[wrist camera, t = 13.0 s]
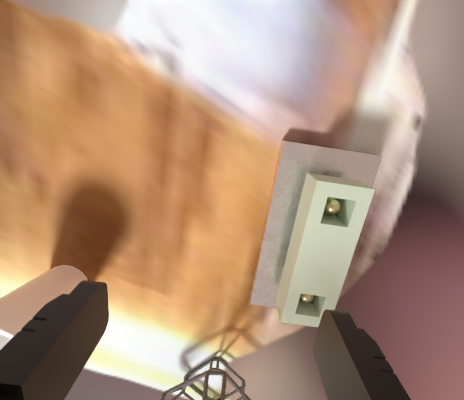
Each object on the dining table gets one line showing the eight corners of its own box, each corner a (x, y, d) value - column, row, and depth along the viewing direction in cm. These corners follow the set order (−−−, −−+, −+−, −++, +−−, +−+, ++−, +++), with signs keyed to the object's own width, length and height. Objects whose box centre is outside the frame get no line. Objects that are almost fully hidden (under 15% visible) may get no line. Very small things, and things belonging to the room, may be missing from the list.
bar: (306, 172, 29) (317, 180, 25) (357, 180, 29) (375, 189, 25) (275, 299, 34) (280, 322, 31) (318, 305, 35) (328, 328, 31)
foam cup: (105, 305, 40) (45, 389, 27) (49, 309, 40) (-34, 393, 28) (89, 253, 37) (14, 319, 25) (29, 257, 37) (-74, 325, 25)
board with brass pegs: (281, 140, 31) (292, 144, 25) (375, 154, 32) (408, 162, 25) (249, 297, 39) (251, 331, 32) (325, 308, 39) (342, 343, 33)
